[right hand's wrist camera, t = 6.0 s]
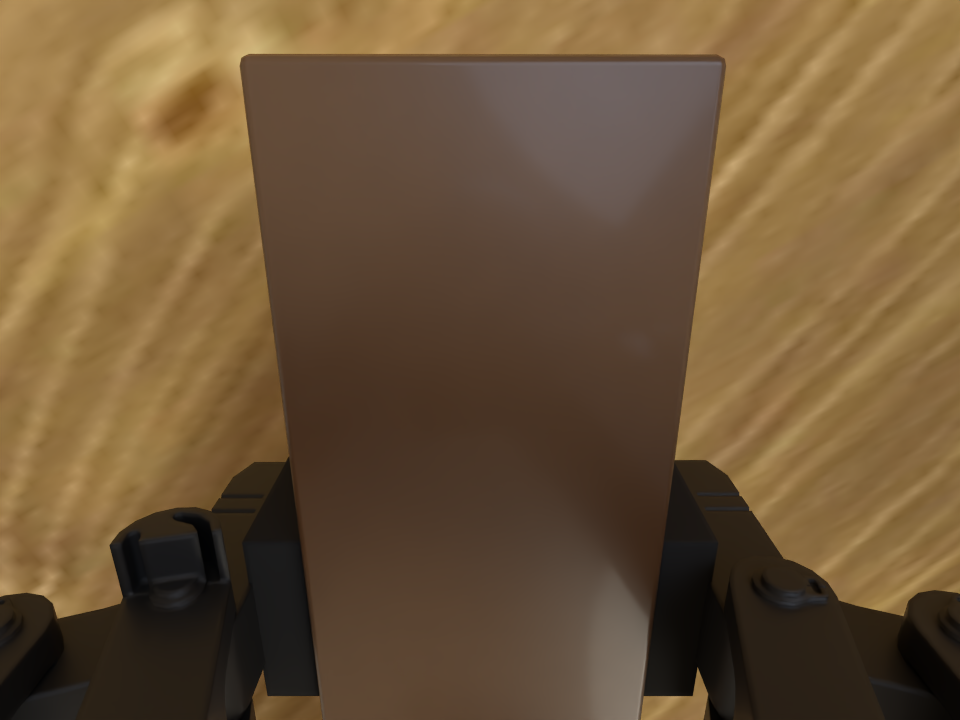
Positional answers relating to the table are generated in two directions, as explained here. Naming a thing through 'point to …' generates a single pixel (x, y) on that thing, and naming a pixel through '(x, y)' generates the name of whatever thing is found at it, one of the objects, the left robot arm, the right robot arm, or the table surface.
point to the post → (482, 363)
